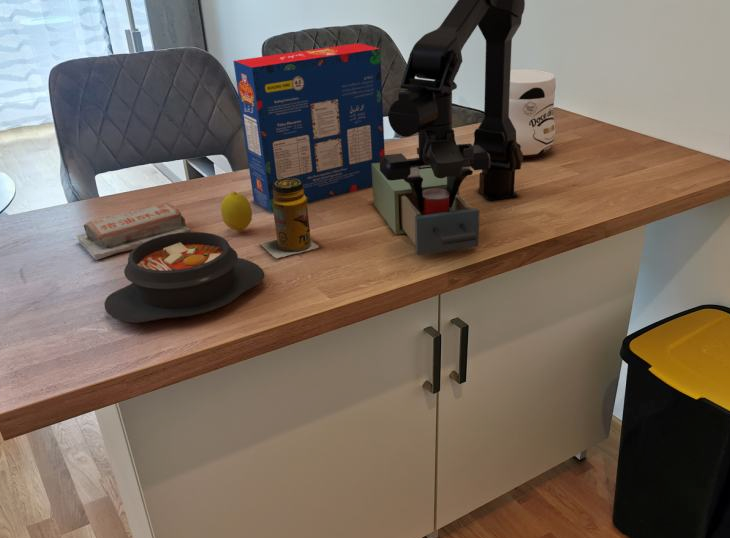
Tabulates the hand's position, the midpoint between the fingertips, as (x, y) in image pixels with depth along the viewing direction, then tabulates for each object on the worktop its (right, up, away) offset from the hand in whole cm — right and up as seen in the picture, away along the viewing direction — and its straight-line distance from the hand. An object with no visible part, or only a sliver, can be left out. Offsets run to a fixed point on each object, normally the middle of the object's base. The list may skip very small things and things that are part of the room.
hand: (435, 208), depth 131 cm
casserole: (-40, -17, -15) cm, 46 cm away
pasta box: (-24, +8, +25) cm, 36 cm away
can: (0, -2, +1) cm, 2 cm away
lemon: (-37, -3, +8) cm, 38 cm away
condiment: (-27, -7, +2) cm, 27 cm away
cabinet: (-4, +1, +14) cm, 15 cm away
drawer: (+1, -5, +1) cm, 6 cm away
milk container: (+21, +23, +48) cm, 57 cm away
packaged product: (-56, -5, +5) cm, 57 cm away
